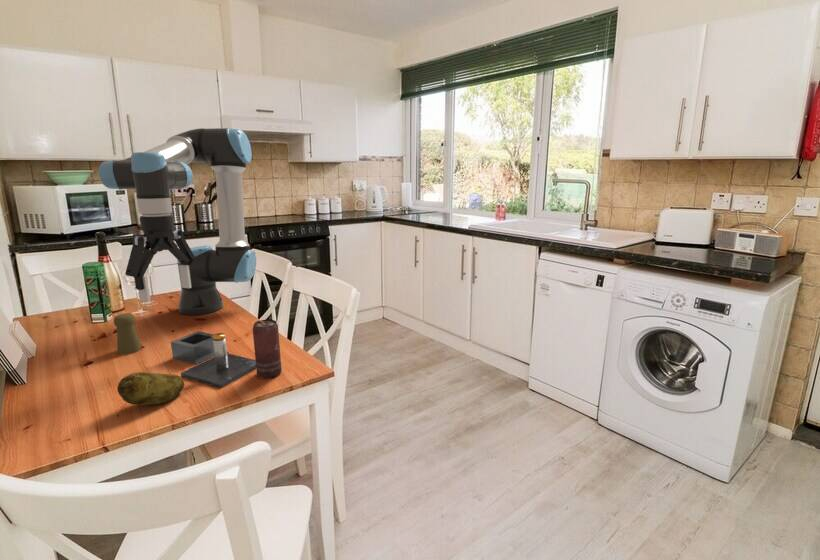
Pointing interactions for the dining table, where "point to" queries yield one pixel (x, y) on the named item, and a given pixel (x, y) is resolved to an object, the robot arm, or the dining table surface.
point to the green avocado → (150, 388)
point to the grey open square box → (193, 347)
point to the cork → (126, 334)
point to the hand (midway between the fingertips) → (167, 294)
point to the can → (267, 348)
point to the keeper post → (220, 366)
